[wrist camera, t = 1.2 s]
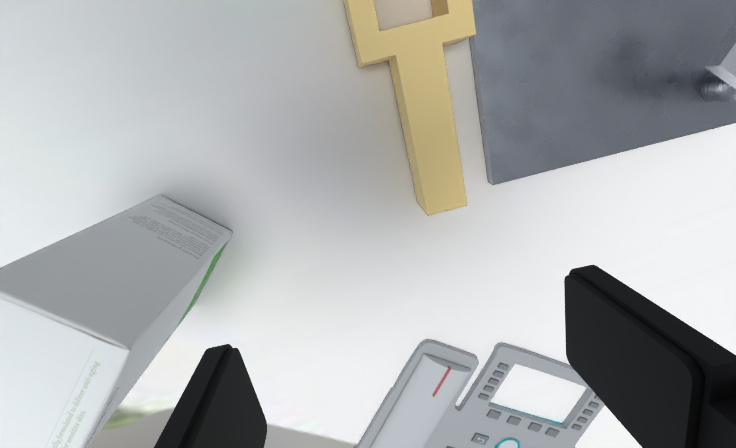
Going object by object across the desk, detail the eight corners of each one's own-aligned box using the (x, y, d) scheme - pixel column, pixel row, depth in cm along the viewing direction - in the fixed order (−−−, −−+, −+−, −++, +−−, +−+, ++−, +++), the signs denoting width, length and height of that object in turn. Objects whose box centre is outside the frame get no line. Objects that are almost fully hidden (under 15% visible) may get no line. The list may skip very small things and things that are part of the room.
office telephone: (343, 485, 37) (432, 327, 32) (343, 460, 40) (425, 311, 34) (533, 531, 42) (639, 399, 36) (522, 506, 44) (620, 380, 39)
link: (331, -52, 24) (330, -77, 21) (441, -81, 24) (458, -110, 20) (391, 209, 30) (398, 223, 27) (479, 187, 30) (496, 197, 27)
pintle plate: (448, -118, 23) (491, -200, 17) (754, -197, 23) (915, -310, 17) (488, 182, 30) (529, 204, 23) (726, 121, 30) (832, 127, 23)
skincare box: (192, 306, 31) (65, 490, 17) (115, 272, 30) (-101, 440, 15) (236, 227, 29) (135, 356, 15) (156, 186, 28) (-47, 283, 13)
